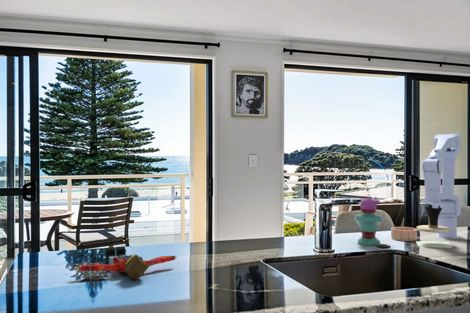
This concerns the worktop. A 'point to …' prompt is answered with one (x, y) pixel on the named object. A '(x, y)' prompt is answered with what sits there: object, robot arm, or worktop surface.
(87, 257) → the worktop surface
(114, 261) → the toy
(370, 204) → the toy
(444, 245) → the mat
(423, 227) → the lid
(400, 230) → the bowl
